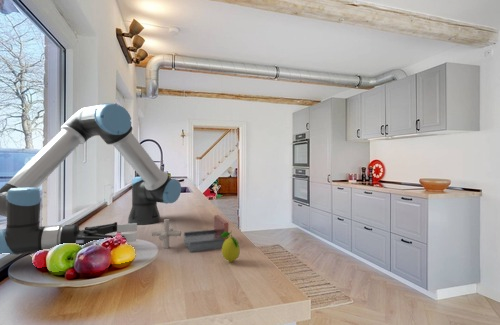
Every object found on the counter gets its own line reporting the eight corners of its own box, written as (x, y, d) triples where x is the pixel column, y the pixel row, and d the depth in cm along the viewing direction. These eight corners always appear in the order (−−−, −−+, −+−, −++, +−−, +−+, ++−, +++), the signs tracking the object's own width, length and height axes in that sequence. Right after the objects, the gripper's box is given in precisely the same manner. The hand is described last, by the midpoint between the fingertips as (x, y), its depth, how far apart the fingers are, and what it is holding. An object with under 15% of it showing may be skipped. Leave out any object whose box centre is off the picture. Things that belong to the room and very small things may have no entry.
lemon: (220, 258, 84) (220, 227, 84) (238, 257, 84) (239, 226, 84) (220, 266, 77) (220, 232, 77) (240, 266, 77) (240, 232, 77)
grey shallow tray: (184, 240, 102) (184, 217, 102) (217, 237, 107) (217, 215, 107) (190, 252, 89) (190, 225, 89) (228, 247, 94) (228, 222, 94)
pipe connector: (176, 252, 88) (176, 223, 88) (146, 252, 89) (147, 222, 89) (184, 243, 98) (184, 216, 98) (157, 242, 99) (158, 216, 99)
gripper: (72, 238, 93) (137, 233, 101) (49, 263, 70) (135, 254, 78) (72, 217, 93) (137, 213, 101) (49, 235, 70) (135, 229, 78)
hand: (136, 231), depth 90 cm, fingers open, 13 cm apart
